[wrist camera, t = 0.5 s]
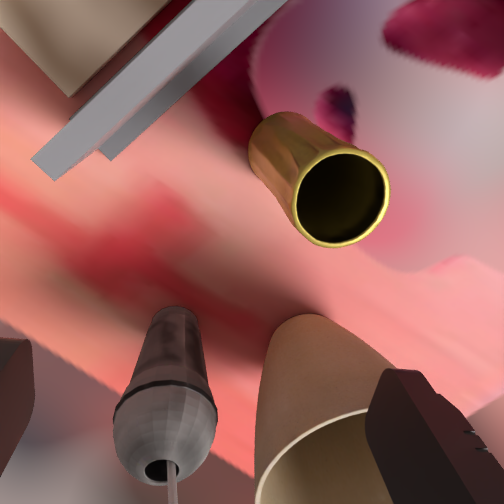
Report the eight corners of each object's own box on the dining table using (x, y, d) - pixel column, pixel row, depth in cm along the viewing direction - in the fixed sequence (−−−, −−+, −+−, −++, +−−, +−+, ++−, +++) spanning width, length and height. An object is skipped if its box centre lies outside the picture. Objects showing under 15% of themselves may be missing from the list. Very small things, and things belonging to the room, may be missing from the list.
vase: (256, 194, 34) (293, 269, 21) (239, 121, 31) (269, 155, 18) (325, 176, 34) (403, 239, 21) (314, 102, 31) (396, 123, 18)
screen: (307, -108, 26) (376, -221, 16) (339, -48, 27) (421, -117, 17) (72, 117, 29) (9, 139, 19) (113, 158, 31) (73, 198, 21)
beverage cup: (120, 315, 37) (46, 547, 19) (188, 280, 36) (180, 485, 18) (162, 367, 40) (133, 609, 22) (225, 335, 39) (249, 558, 21)
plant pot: (242, 407, 44) (264, 572, 29) (225, 292, 37) (243, 430, 23) (372, 385, 45) (455, 534, 30) (377, 270, 38) (484, 388, 24)
